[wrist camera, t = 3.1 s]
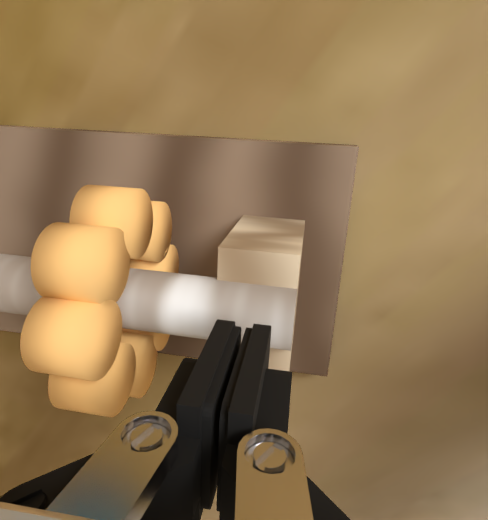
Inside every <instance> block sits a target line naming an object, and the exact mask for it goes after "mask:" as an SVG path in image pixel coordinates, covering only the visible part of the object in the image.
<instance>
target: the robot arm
mask: <svg viewBox="0 0 488 520" xmlns="http://www.w3.org/2000/svg"><path fill="white" fill-rule="evenodd" d="M270 341H271V326H270V325H262V324H253V327H252V328H247V327H246V330H245V333H244V336H243V339H242V342H241V327H239V326H235V321H228V320H219V319H217V320H216V322H215V324H214V326H213V329H212V331H211V333H210V335H209V337H208V339H207V341H206V343H205V345H204V347H203V350H202V352H201V354H200V356H199V358H198V359H192V358H184V359H183V361H182V362H181V364H180V366H179V368H178V370H177V372H176V373H175V375H174V377H173V379H172V381H171V383H170V385H169V386H168V388H167V390H166V392H165V394H164V396H163V398H162V399H161V401H160V403H159V405H158V407H157V409H156V411H143V412H140V413H136V414H134V415H132V416H130V417H128V418H126V419H125V420H124V421H123V422H121V423H120V424H119V425H118V426H117V428H116V429H115V430H114V431H113V432H112V433H111V435H110V436H109V437H108V438H107V439H106V440H105V441H104V443H103V444H102V445H101V446H100V447H99V448H98V450H97V451H96V452H95V453H94V454H92V455H89V456H87V457H84V458H82V459H80V460H77V461H75V462H73V463H70V464H68V465H66V466H63V467H61V468H59V469H56V470H54V471H52V472H49V473H47V474H45V475H42V476H40V477H38V478H35V479H33V480H30V481H28V482H26V483H23V484H21V485H19V486H17V487H15V488H13V489H12V490H10V491H8V492H7V493H6V494H4V495H3V496H0V520H200V519H201V515H202V512H203V508H204V509H211V507H212V503H213V499H214V496H215V492H216V488H217V511H220V520H350V519H349V518H348V517H347V516H346V515H345V514H344V513H343V512H342V511H341V510H340V509H339V508H338V507H337V506H336V505H335V504H334V503H333V502H332V501H331V500H330V499H329V498H328V497H327V496H326V495H325V494H324V493H323V492H322V491H321V490H320V489H319V488H318V487H317V486H316V485H315V484H314V483H313V482H312V481H311V480H310V479H309V478H308V477H307V476H306V471H305V465H304V459H303V453H302V450H301V448H300V445H299V444H298V443H297V442H296V440H295V439H294V438H292V437H291V436H290V435H288V434H287V431H288V418H289V405H290V392H291V379H292V372H290V371H283V370H275V369H268V367H269V354H270Z"/></svg>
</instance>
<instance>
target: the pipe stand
mask: <svg viewBox="0 0 488 520" xmlns="http://www.w3.org/2000/svg"><path fill="white" fill-rule="evenodd" d="M358 148H359V147H358V146H357V145H342V144H325V143H307V142H290V141H272V140H254V139H237V138H219V137H202V136H184V135H166V134H149V133H131V132H114V131H96V130H78V129H61V128H43V127H25V126H8V125H0V330H3V331H10V332H17V333H21V332H22V328H23V325H24V322H25V319H26V317H27V315H28V313H29V311H30V310H31V308H32V307H33V305H34V304H35V303H36V302H37V301H38V300H39V299H40V298H41V297H42V296H41V295H40V294H39V293H38V292H37V290H36V289H35V287H34V284H33V281H32V277H31V256H32V251H33V248H34V245H35V242H36V240H37V238H38V236H39V235H40V233H41V232H42V231H43V230H44V229H45V228H46V227H47V226H48V225H50V224H52V223H55V222H64V223H69V218H70V210H71V206H72V202H73V200H74V197H75V195H76V194H77V192H78V191H79V190H80V189H81V188H82V187H83V186H85V185H102V186H115V187H127V188H140V189H144V190H145V191H146V192H147V193H148V195H149V197H150V200H151V201H160V202H165V203H167V205H168V206H169V209H170V212H171V217H172V236H171V242H170V244H171V245H174V246H175V247H176V249H177V251H178V257H179V271H178V273H172V272H162V271H153V270H144V269H135V268H130V271H129V276H128V280H127V284H126V287H125V289H124V291H123V293H122V295H121V297H120V298H119V300H118V301H117V302H116V303H117V304H118V306H119V308H120V311H121V315H122V328H125V329H132V330H140V331H147V332H155V333H162V334H170V336H169V339H168V341H167V344H166V345H165V347H164V348H163V349H162V350H161V351H157V352H158V353H165V354H172V355H179V356H187V357H194V358H199V356H200V354H201V352H202V350H203V347H204V345H205V343H206V341H207V339H208V337H209V335H210V333H211V331H212V329H213V326H214V324H215V322H216V320H217V319H219V320H228V321H235V326H239V327H241V342H242V339H243V336H244V333H245V330H246V327H247V328H252V327H253V324H262V325H270V326H271V341H270V354H269V367H268V369H275V370H283V371H292V372H299V373H306V374H314V375H321V376H327V374H328V367H329V359H330V352H331V345H332V337H333V330H334V323H335V316H336V308H337V301H338V294H339V287H340V279H341V272H342V265H343V257H344V250H345V243H346V236H347V228H348V221H349V214H350V207H351V199H352V192H353V185H354V177H355V170H356V163H357V156H358Z"/></svg>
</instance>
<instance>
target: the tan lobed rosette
mask: <svg viewBox="0 0 488 520" xmlns="http://www.w3.org/2000/svg"><path fill="white" fill-rule="evenodd" d="M171 236H172V217H171V212H170V209H169V206H168V205H167V203H165V202H160V201H151V200H150V197H149V195H148V193H147V192H146V191H145V190H144V189H140V188H127V187H115V186H102V185H85V186H83V187H82V188H81V189H80V190H79V191H78V192H77V194H76V195H75V197H74V200H73V202H72V206H71V210H70V218H69V223H64V222H55V223H52V224H50V225H48V226H47V227H46V228H45V229H44V230H43V231H42V232H41V233H40V235H39V236H38V238H37V240H36V242H35V245H34V248H33V251H32V256H31V277H32V281H33V284H34V287H35V289H36V290H37V292H38V293H39V294H40V295H41V296H42V297H41V298H40V299H39V300H38V301H37V302H36V303H35V304H34V305H33V307H32V308H31V310H30V311H29V313H28V315H27V317H26V319H25V322H24V325H23V328H22V332H21V339H20V351H21V356H22V359H23V362H24V364H25V365H26V367H27V368H28V369H30V370H31V371H34V372H39V373H46V374H49V379H48V395H49V399H50V401H51V403H52V405H53V406H54V407H56V408H59V409H65V410H71V411H77V412H82V413H88V414H94V415H100V416H106V417H115V416H116V415H118V414H119V413H120V412H121V410H122V409H123V407H124V406H125V404H126V402H127V400H128V398H129V397H134V398H142V397H143V396H144V395H145V394H146V392H147V391H148V389H149V387H150V385H151V382H152V380H153V376H154V373H155V369H156V363H157V351H161V350H162V349H163V348H164V347H165V345H166V344H167V341H168V339H169V336H170V334H162V333H155V332H147V331H140V330H132V329H125V328H122V315H121V311H120V308H119V306H118V304H117V303H116V302H117V301H118V300H119V298H120V297H121V295H122V293H123V291H124V289H125V287H126V284H127V280H128V276H129V271H130V268H135V269H144V270H153V271H162V272H172V273H178V271H179V257H178V251H177V249H176V247H175V246H174V245H171V244H170V242H171Z"/></svg>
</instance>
